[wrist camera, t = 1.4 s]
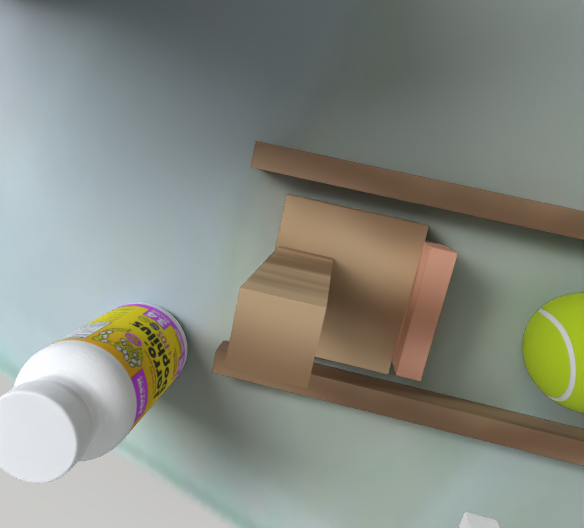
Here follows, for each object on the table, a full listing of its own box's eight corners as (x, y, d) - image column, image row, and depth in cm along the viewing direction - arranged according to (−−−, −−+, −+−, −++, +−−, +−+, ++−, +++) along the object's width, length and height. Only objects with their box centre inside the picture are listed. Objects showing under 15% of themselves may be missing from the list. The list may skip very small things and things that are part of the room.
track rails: (261, 143, 30) (255, 141, 28) (668, 230, 28) (692, 234, 26) (219, 360, 33) (211, 372, 31) (583, 451, 32) (599, 469, 30)
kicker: (289, 193, 30) (249, 205, 18) (447, 228, 30) (526, 267, 17) (259, 334, 32) (205, 435, 20) (407, 370, 32) (450, 500, 19)
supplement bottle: (203, 373, 34) (119, 488, 21) (122, 394, 35) (-3, 517, 22) (171, 287, 33) (64, 356, 20) (90, 312, 34) (-60, 392, 21)
